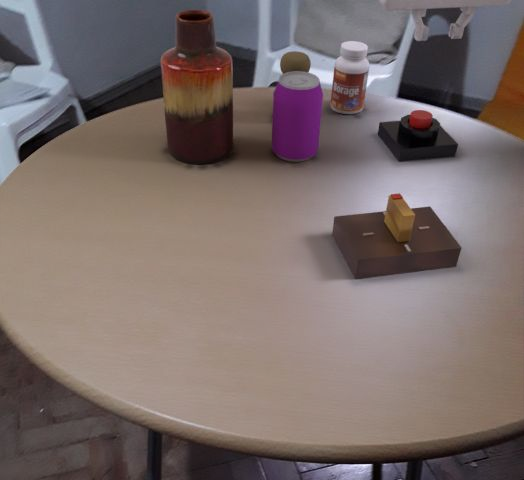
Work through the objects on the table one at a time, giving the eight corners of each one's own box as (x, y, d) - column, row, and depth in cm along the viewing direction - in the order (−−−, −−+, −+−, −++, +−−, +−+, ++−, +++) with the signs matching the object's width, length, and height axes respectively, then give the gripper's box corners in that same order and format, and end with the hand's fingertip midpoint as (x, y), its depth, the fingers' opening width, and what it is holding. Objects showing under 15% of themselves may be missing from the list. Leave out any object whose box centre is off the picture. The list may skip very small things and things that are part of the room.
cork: (288, 127, 110) (291, 63, 103) (268, 114, 114) (271, 51, 106) (315, 120, 113) (321, 56, 105) (296, 107, 116) (300, 45, 109)
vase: (193, 171, 98) (185, 33, 84) (155, 146, 104) (141, 12, 90) (246, 151, 104) (247, 18, 89) (207, 128, 109) (202, -1, 95)
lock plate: (425, 224, 89) (430, 205, 87) (456, 266, 83) (462, 246, 80) (331, 235, 87) (334, 215, 85) (355, 279, 80) (358, 259, 78)
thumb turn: (409, 241, 81) (415, 212, 78) (397, 242, 81) (403, 214, 78) (394, 220, 84) (400, 192, 82) (383, 221, 84) (388, 193, 81)
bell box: (430, 129, 111) (435, 107, 108) (455, 156, 104) (461, 133, 101) (377, 134, 109) (381, 111, 106) (398, 161, 102) (403, 138, 100)
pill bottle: (325, 111, 115) (331, 48, 107) (335, 99, 119) (342, 37, 112) (358, 118, 114) (366, 54, 106) (367, 105, 118) (376, 42, 110)
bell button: (425, 119, 106) (427, 109, 105) (434, 128, 103) (436, 118, 102) (405, 120, 105) (407, 110, 104) (413, 130, 103) (415, 120, 101)
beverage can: (298, 137, 108) (303, 65, 99) (327, 156, 103) (334, 82, 95) (262, 149, 104) (264, 75, 96) (289, 168, 100) (294, 93, 92)
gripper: (396, -63, 81) (379, 50, 91) (539, -66, 85) (508, 42, 94) (379, -73, 85) (365, 35, 95) (515, -77, 89) (488, 28, 99)
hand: (437, 38), depth 95 cm, fingers open, 4 cm apart
